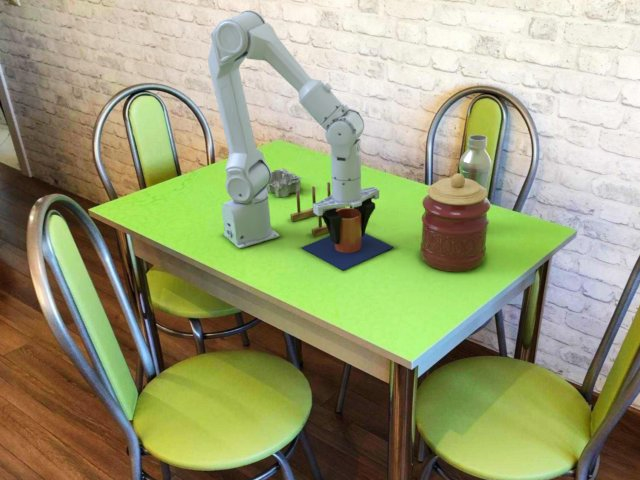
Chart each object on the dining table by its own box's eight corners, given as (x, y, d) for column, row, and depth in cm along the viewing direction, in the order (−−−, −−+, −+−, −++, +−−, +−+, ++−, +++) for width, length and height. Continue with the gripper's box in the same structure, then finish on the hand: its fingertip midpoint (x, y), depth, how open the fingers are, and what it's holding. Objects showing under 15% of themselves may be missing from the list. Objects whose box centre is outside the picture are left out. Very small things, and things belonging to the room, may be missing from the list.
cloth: (343, 271, 136) (343, 269, 136) (301, 248, 144) (301, 247, 144) (393, 248, 144) (394, 246, 144) (351, 227, 152) (351, 226, 152)
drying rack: (313, 236, 148) (312, 207, 145) (290, 220, 155) (288, 191, 151) (360, 222, 154) (360, 193, 150) (335, 207, 161) (334, 179, 157)
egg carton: (256, 186, 172) (254, 170, 170) (282, 178, 176) (280, 163, 173) (279, 199, 165) (277, 183, 162) (305, 191, 168) (304, 175, 166)
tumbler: (344, 255, 140) (343, 222, 136) (329, 245, 144) (328, 212, 140) (366, 248, 143) (366, 215, 139) (351, 238, 147) (350, 205, 143)
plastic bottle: (485, 235, 148) (494, 144, 137) (453, 232, 149) (459, 142, 138) (486, 222, 153) (495, 133, 142) (455, 220, 155) (462, 131, 144)
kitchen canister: (430, 276, 134) (434, 190, 124) (412, 245, 144) (415, 164, 135) (494, 269, 136) (503, 184, 126) (472, 239, 146) (479, 159, 137)
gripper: (325, 190, 129) (328, 255, 136) (388, 173, 136) (387, 236, 143) (306, 179, 134) (309, 242, 141) (367, 162, 141) (368, 224, 148)
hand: (347, 238), depth 143 cm, fingers closed on tumbler, 5 cm apart
